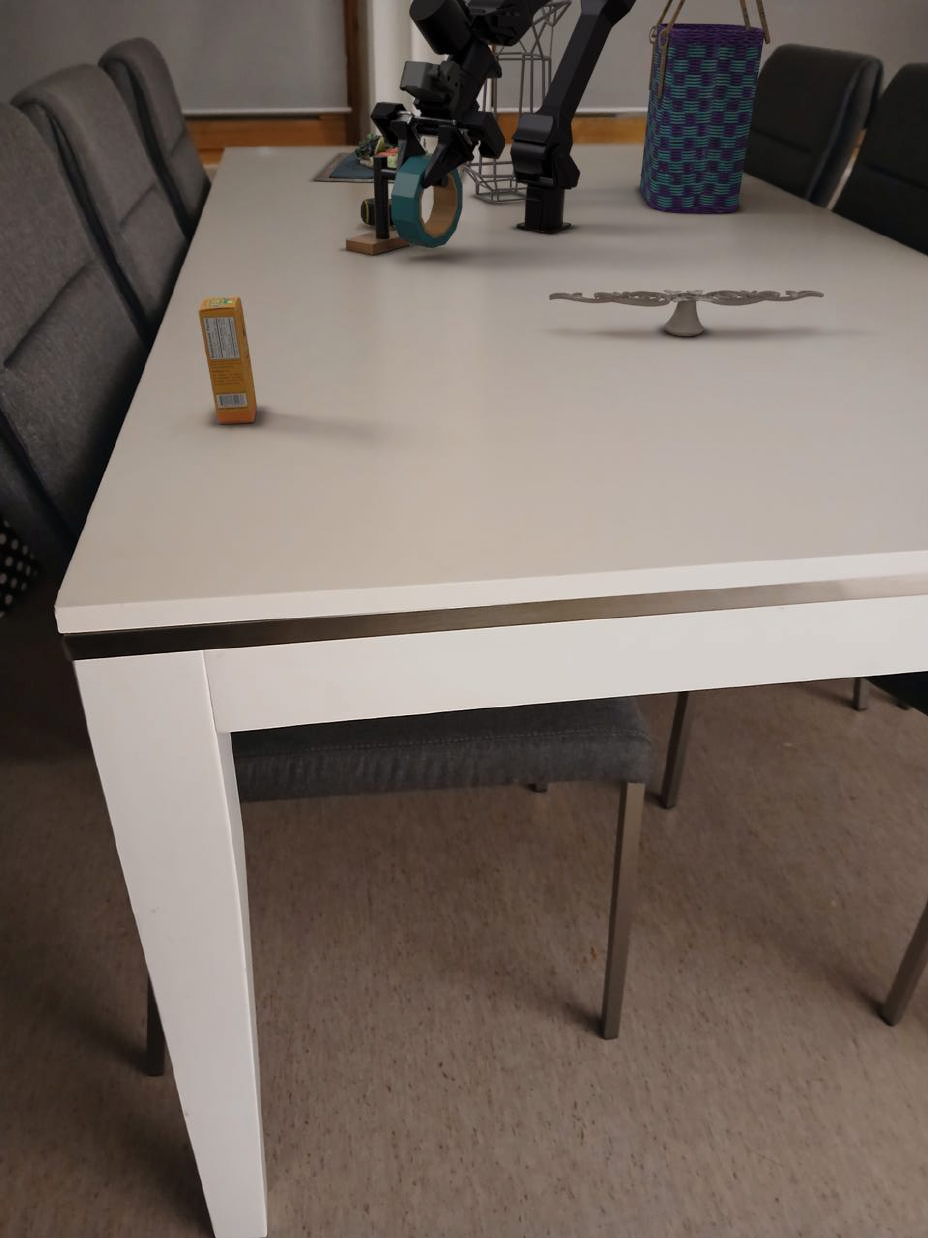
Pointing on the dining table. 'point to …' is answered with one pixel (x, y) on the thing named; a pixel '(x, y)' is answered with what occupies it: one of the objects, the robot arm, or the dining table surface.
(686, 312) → the wall hook
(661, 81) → the basket
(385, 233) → the hook
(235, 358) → the supplement box
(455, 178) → the tape roll
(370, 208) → the tape measure
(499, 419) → the dining table surface
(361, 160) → the plated dish
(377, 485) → the dining table surface
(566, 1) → the geometric lantern
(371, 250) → the hook base
